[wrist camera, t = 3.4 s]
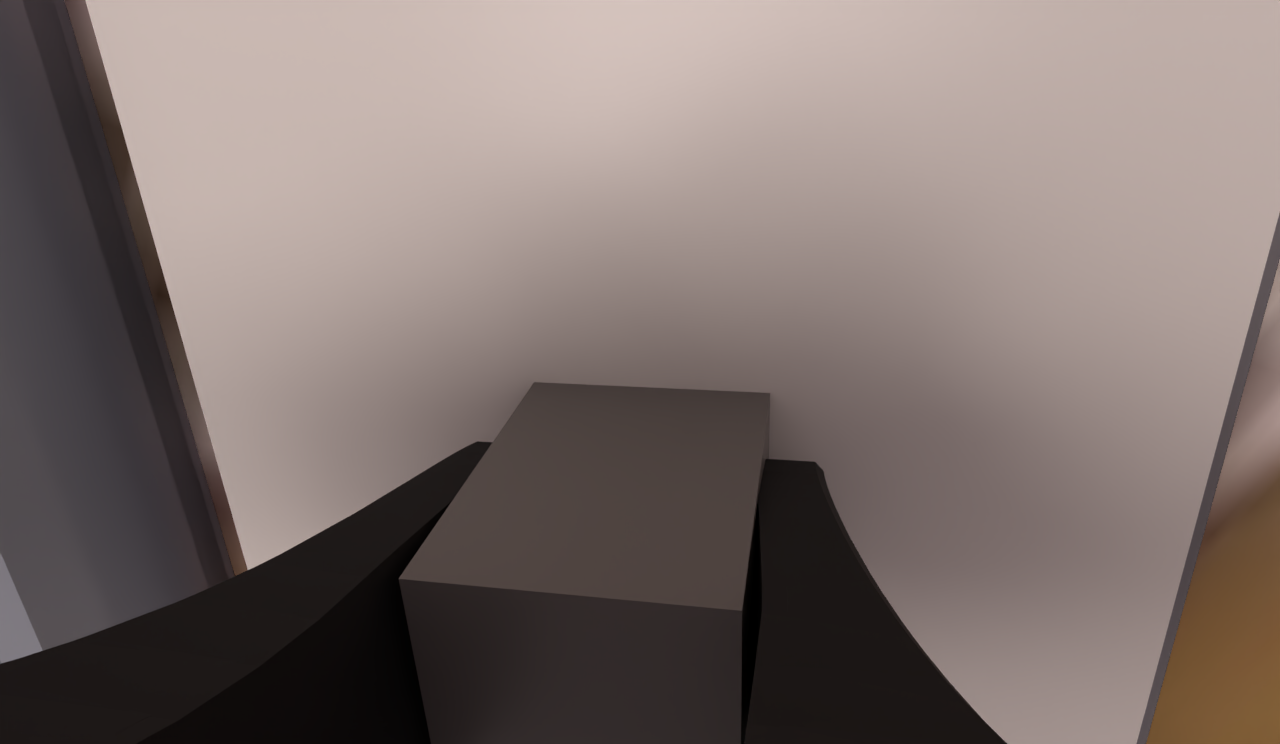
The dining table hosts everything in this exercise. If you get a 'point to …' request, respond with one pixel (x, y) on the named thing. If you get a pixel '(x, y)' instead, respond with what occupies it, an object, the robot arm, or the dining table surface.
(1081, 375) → the lid
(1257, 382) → the dining table surface
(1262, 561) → the dining table surface
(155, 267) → the dining table surface
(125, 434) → the tray
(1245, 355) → the mat
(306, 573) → the robot arm
